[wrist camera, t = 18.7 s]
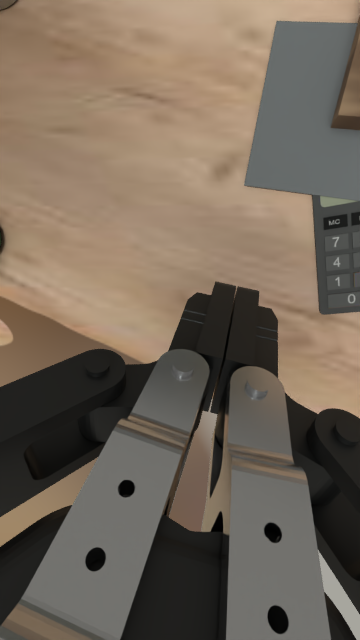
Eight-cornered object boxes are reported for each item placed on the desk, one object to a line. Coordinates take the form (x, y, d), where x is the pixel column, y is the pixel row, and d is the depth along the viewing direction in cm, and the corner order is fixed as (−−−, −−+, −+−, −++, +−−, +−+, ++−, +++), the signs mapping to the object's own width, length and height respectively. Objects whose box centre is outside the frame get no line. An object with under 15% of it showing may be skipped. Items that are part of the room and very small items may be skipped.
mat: (244, 185, 34) (244, 185, 34) (276, 23, 30) (276, 21, 29) (387, 205, 31) (388, 204, 31) (447, 28, 27) (449, 25, 26)
